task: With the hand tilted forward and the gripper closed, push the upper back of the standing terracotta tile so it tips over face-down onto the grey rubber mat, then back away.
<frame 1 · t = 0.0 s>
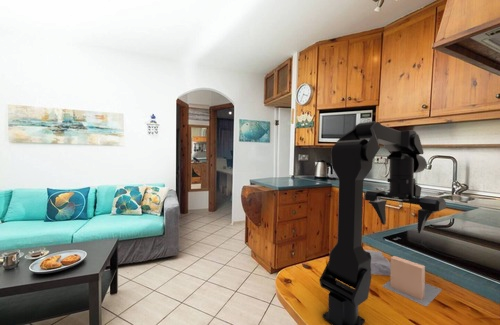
hand: (400, 228, 64), 15 cm above the table, tool pointing down, fingers open, 9 cm apart
stone block: (369, 267, 72), on the table
tile: (406, 291, 58), resting on mat
mat: (411, 288, 60), on the table
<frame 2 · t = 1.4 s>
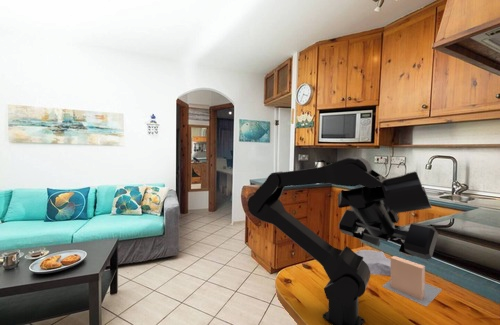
hand: (393, 249, 53), 14 cm above the table, tool tilted 45°, fingers open, 6 cm apart
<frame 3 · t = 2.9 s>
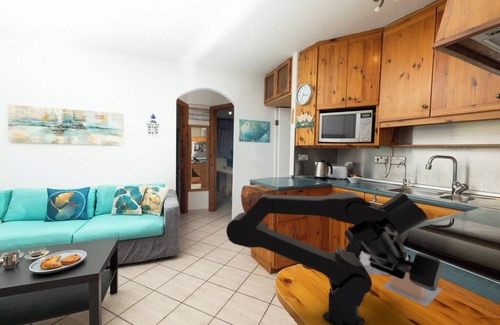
hand: (398, 274, 55), 7 cm above the table, tool tilted 45°, fingers closed
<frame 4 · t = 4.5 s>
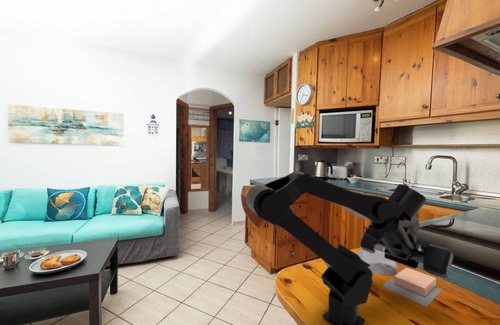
hand: (411, 265, 59), 7 cm above the table, tool tilted 45°, fingers closed
tile: (408, 285, 59), point 1 cm above the table, tilted 90°, touching mat
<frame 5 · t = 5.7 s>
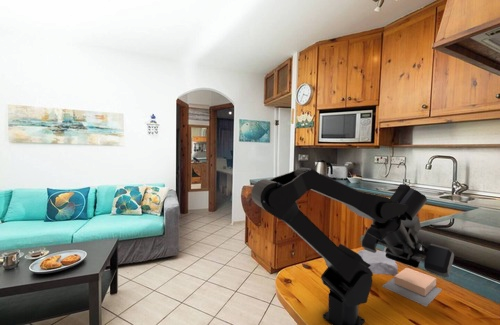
hand: (411, 264, 59), 7 cm above the table, tool tilted 45°, fingers closed
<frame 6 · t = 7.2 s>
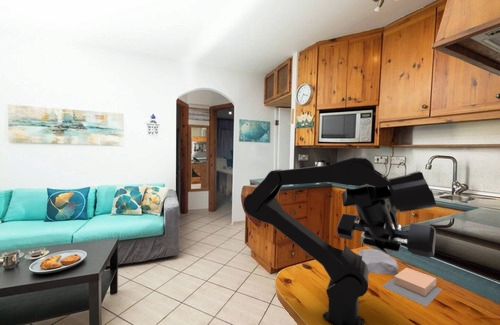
hand: (389, 252, 54), 13 cm above the table, tool tilted 40°, fingers closed
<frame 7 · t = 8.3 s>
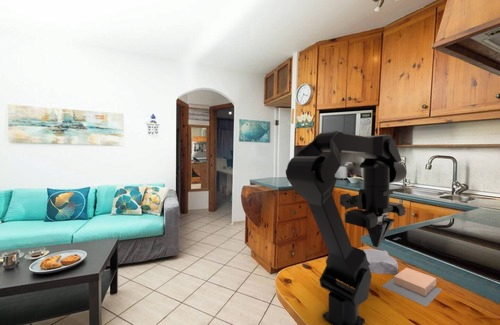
hand: (375, 246, 56), 13 cm above the table, tool pointing down, fingers closed
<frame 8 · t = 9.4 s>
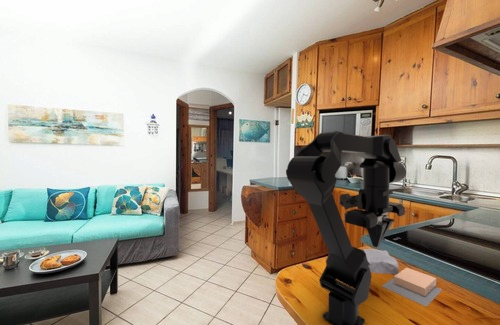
hand: (375, 246, 56), 13 cm above the table, tool pointing down, fingers closed
at the end: tile tilted 90°; tile inside the target area (0.3 cm from its centre), point 1.5 cm above the table; tile touching mat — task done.
